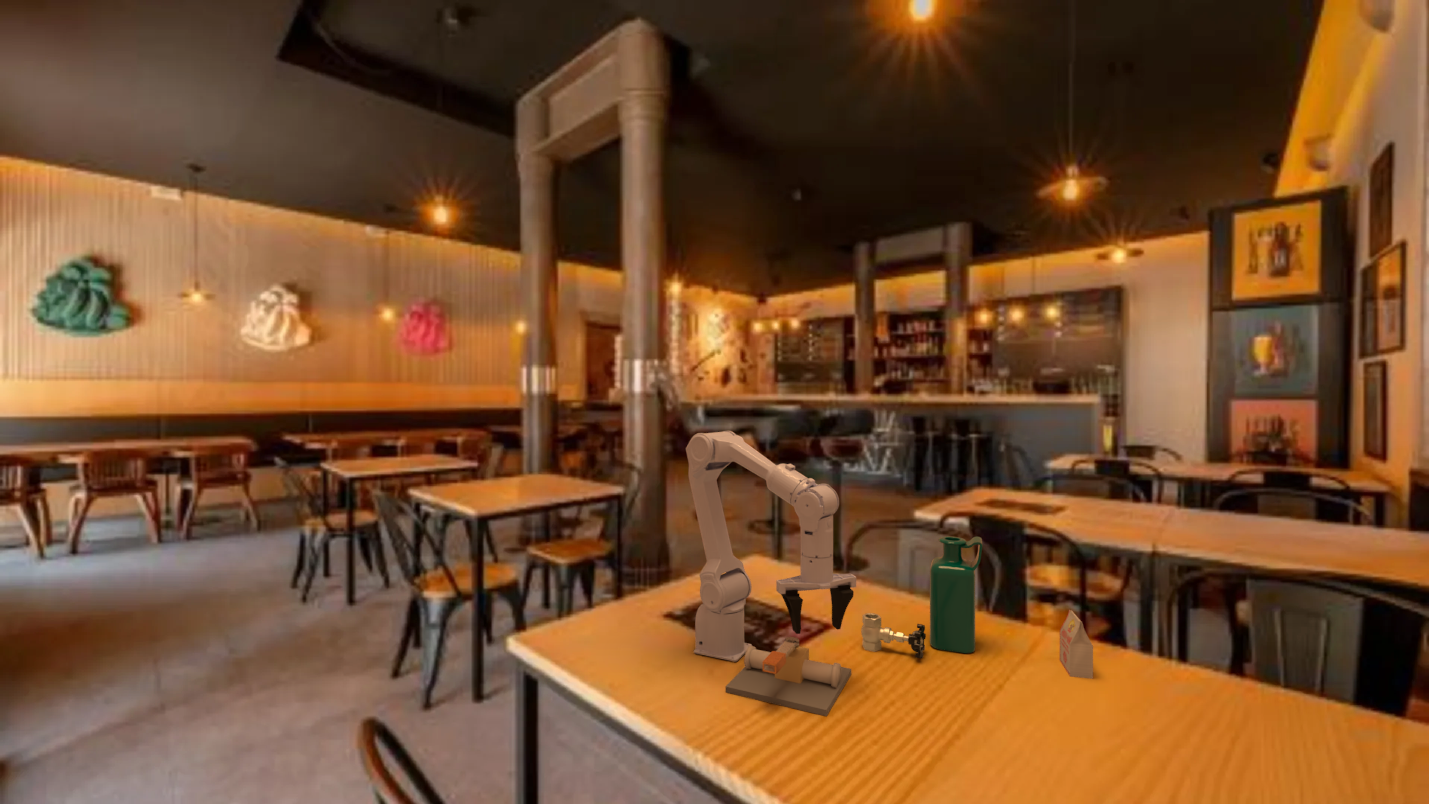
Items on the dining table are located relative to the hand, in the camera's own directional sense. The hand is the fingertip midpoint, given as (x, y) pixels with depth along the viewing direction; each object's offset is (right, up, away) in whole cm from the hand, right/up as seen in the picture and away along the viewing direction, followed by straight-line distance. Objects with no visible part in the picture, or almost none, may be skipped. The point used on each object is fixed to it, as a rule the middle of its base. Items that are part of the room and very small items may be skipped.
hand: (816, 629), depth 109 cm
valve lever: (-6, -4, -3) cm, 8 cm away
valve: (+17, -10, +13) cm, 24 cm away
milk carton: (+49, -9, +5) cm, 50 cm away
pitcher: (+31, -9, +16) cm, 36 cm away
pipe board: (-4, -10, +1) cm, 11 cm away
